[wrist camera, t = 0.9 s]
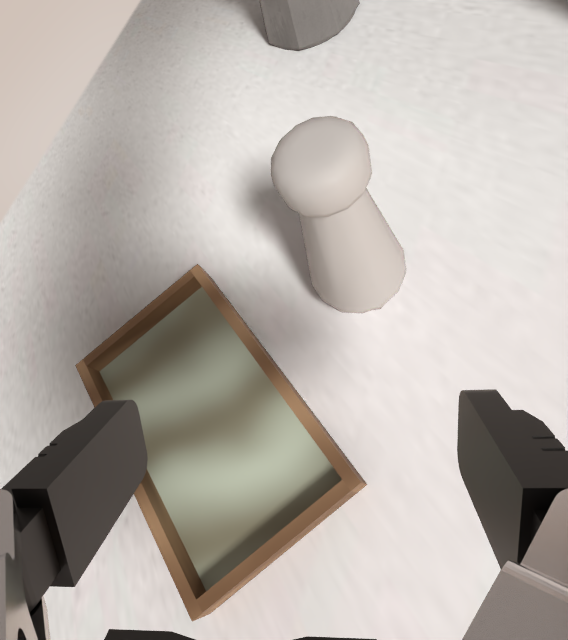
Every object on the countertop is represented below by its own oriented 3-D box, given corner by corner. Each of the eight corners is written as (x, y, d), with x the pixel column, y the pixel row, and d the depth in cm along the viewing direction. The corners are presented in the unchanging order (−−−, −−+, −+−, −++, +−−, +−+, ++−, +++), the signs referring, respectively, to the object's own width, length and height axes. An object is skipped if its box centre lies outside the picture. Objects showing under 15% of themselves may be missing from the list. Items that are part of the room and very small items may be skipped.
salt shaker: (360, 344, 28) (303, 232, 17) (304, 289, 31) (221, 161, 20) (428, 280, 29) (416, 128, 17) (366, 231, 31) (319, 72, 20)
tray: (94, 372, 34) (75, 365, 33) (210, 276, 34) (197, 263, 32) (209, 613, 25) (191, 621, 24) (367, 484, 25) (361, 482, 24)
